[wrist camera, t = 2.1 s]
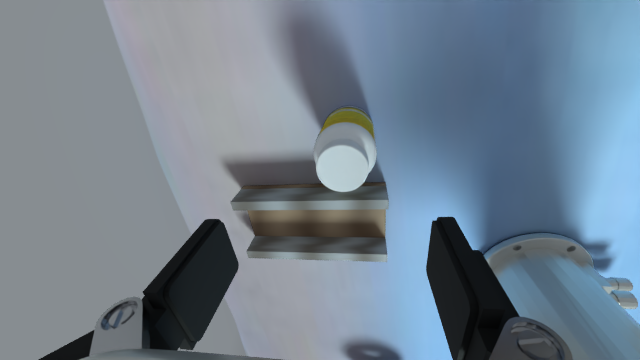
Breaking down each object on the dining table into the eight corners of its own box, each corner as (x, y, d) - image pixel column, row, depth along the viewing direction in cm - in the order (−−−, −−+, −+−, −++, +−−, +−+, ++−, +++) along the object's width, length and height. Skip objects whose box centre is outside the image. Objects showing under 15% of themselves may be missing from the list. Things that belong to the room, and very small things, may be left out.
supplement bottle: (318, 110, 26) (298, 140, 18) (370, 100, 25) (375, 127, 17) (329, 157, 29) (315, 203, 20) (376, 149, 28) (383, 196, 19)
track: (385, 182, 29) (388, 199, 26) (384, 240, 33) (387, 262, 30) (243, 185, 32) (230, 201, 29) (258, 239, 36) (248, 258, 33)
